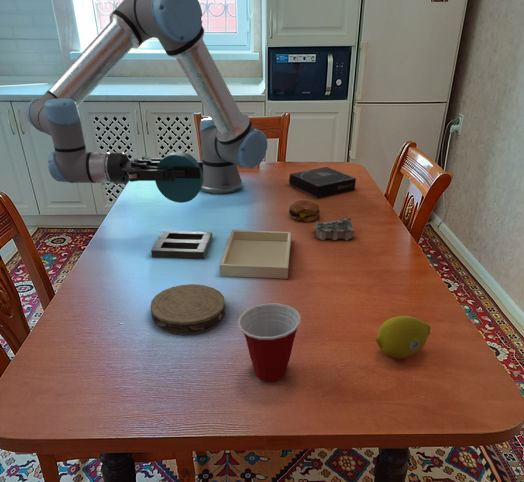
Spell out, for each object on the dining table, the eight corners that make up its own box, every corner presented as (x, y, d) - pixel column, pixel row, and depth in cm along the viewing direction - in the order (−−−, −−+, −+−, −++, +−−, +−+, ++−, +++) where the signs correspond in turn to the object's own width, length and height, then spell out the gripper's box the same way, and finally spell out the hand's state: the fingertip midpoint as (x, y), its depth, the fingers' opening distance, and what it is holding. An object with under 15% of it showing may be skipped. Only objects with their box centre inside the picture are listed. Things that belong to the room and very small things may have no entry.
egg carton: (351, 230, 143) (352, 217, 140) (353, 241, 137) (355, 227, 134) (314, 229, 143) (315, 216, 141) (315, 240, 137) (316, 226, 135)
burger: (310, 209, 157) (311, 194, 154) (325, 219, 150) (326, 204, 147) (282, 214, 153) (283, 199, 151) (296, 224, 147) (297, 209, 144)
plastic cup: (238, 356, 94) (236, 302, 87) (293, 353, 95) (296, 300, 88) (241, 393, 85) (239, 337, 78) (302, 389, 86) (305, 334, 79)
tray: (232, 240, 138) (231, 229, 136) (291, 242, 137) (291, 231, 135) (220, 276, 120) (219, 265, 119) (287, 278, 119) (287, 267, 117)
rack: (151, 257, 129) (150, 250, 128) (164, 237, 139) (163, 230, 138) (204, 259, 128) (203, 252, 127) (212, 238, 138) (212, 232, 137)
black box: (324, 177, 183) (325, 166, 181) (354, 190, 172) (355, 178, 169) (288, 184, 176) (289, 173, 174) (317, 198, 165) (317, 186, 162)
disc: (159, 203, 128) (150, 156, 121) (162, 199, 130) (153, 152, 123) (204, 201, 127) (197, 153, 119) (206, 197, 129) (199, 150, 122)
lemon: (378, 368, 91) (385, 333, 86) (366, 344, 97) (371, 310, 93) (434, 363, 92) (443, 328, 87) (418, 340, 98) (426, 306, 94)
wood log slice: (138, 326, 102) (135, 314, 101) (174, 290, 114) (172, 279, 113) (206, 341, 98) (205, 328, 96) (236, 302, 110) (236, 291, 108)
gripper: (123, 173, 134) (208, 175, 132) (103, 193, 121) (196, 195, 119) (118, 144, 129) (206, 146, 128) (96, 162, 116) (193, 164, 115)
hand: (201, 170), depth 123 cm, fingers closed on disc, 3 cm apart
